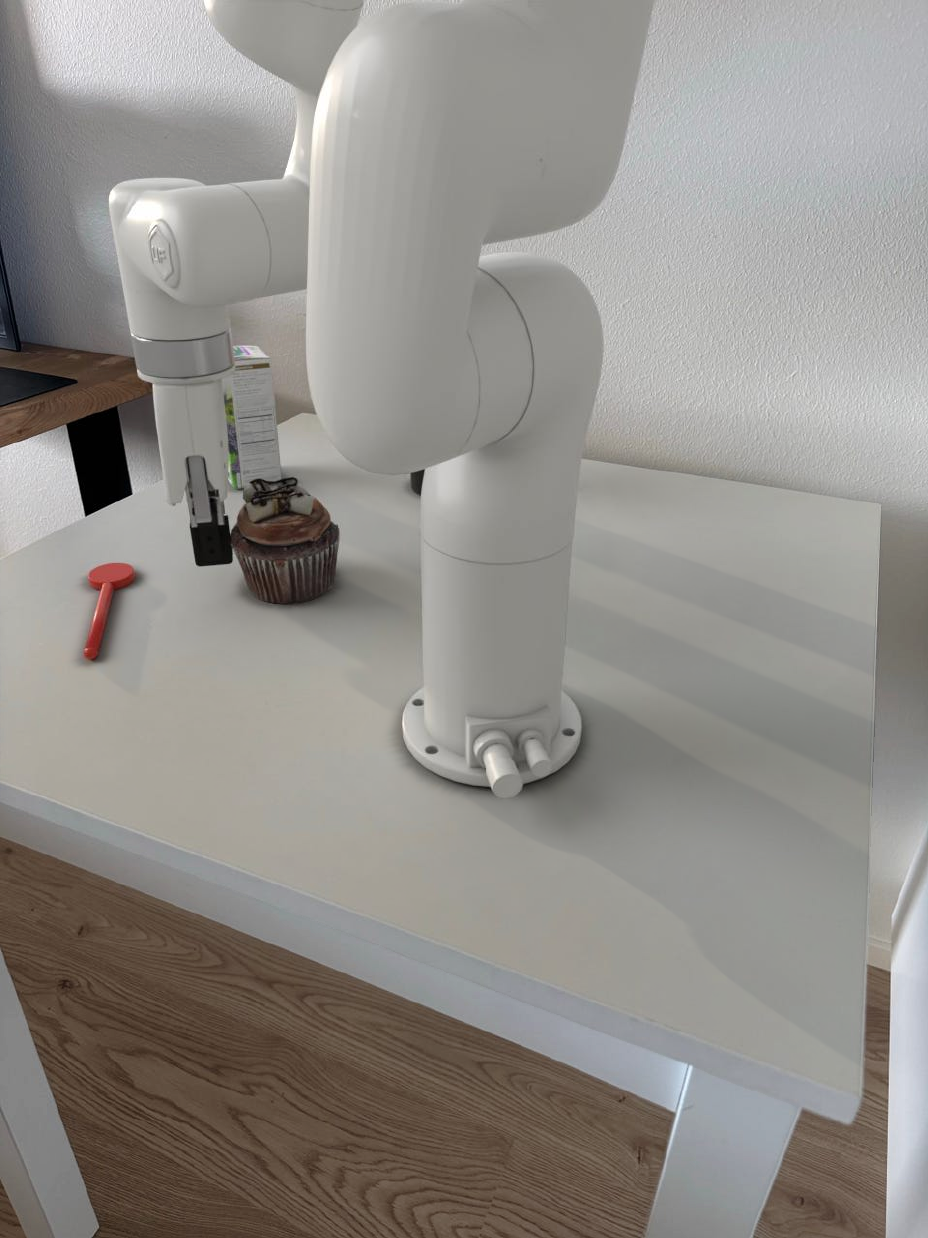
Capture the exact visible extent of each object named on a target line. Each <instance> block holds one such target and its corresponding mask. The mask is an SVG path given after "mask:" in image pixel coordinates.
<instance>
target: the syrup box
mask: <svg viewBox="0 0 928 1238" xmlns="http://www.w3.org/2000/svg"><path fill="white" fill-rule="evenodd" d="M233 350H234V359H235V367H236V370H235V372H234V373H233V374H231V375H230V376H228V377H226V378H223V379H222V387H223V395H224V404H225V413H226V422H227V434H228V452H229V471H228V483H229V484H230V485H231V486H232V488H233V489H234V490H238V489H244V488H245V487H247V486H249V485H252V484H250V483H249V482H251V481H253V480H255V479H258V478H260V479H263V480H266V481H278V480H280V479H283V477H282V465H281V454H280V443H279V432H278V422H277V409H276V398H275V397H276V396H275V387H274V377H273V367H272V358H271V356H270V355H268V354H267V353H266V352H265V350H263V349H262V348H261V347H260V346H258V345H233Z"/></svg>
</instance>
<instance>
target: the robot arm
mask: <svg viewBox="0 0 928 1238" xmlns="http://www.w3.org/2000/svg"><path fill="white" fill-rule="evenodd" d="M203 2H204V10H205V13H206V15H207V17H208V19H209V21H210V23H211V25H212V26H213V28H214V29H215V30H216V32H218V34H219V35H220V36H221V37H222V38H223V39H224V40H225V42H226V43H228V44H229V46H231V47H232V48H233V49H234V50H235V51H237V52H238V53H239V54H241V55H242V56H243V57H245V58H246V59H248V60H249V61H251V62H253V64H256V65H257V66H258V67H260V68H262V69H263V70H264V71H266V72H269V73H270V74H272V75H274V76H275V77H277V78H279V79H281V80H283V81H285V82H286V83H288V84H290V85H291V87H292V91H293V94H294V98H295V106H296V123H295V124H296V125H295V132H294V137H293V142H292V145H291V146H292V147H291V150H290V153H289V158H288V161H287V165H286V168H285V171H284V173H283V176H282V178H277V179H262V180H254V181H242V182H229V183H224V184H223V183H222V184H213V185H206V184H205V183H203V182H201V181H198V180H195V179H189V178H183V177H181V178H180V177H146V178H135V179H134V178H133V179H129V180H125V181H121V182H118V183H117V184H116V185H115V186H113V188H112V189H111V190H110V193H109V196H108V211H109V216H110V217H109V218H110V223H111V228H112V235H113V241H114V245H115V251H116V257H117V262H118V269H119V274H120V280H121V287H122V292H123V297H124V304H125V308H126V314H127V315H126V316H127V320H128V327H129V332H130V338H131V344H132V349H133V355H134V362H135V367H136V372H137V377H138V378H139V379H140V380H141V381H144V382H147V383H149V384H152V399H153V400H152V401H153V410H154V411H153V412H154V419H155V427H156V434H157V441H158V443H157V444H158V449H159V455H160V464H161V471H162V478H163V486H164V494H165V502H167V504H168V505H170V506H171V507H176V504H182V501H183V498H184V496H186V497H185V498H186V503H187V508H188V514H189V531H190V537H191V545H192V550H193V551H192V552H193V557H194V562H195V566H197V567H212V566H223V565H230V564H232V563H233V562H234V556H233V555H234V551H233V549H232V546H231V528H230V521H229V515H228V514H226V508H225V507H226V506H225V500H227V498H228V494H229V493H228V491H229V480H228V471H229V452H228V434H227V422H226V413H225V404H224V395H223V387H222V379H223V378H226V377H228V376H230V375H231V374H233V373H234V372H235V370H236V367H235V359H234V350H233V346H234V344H233V343H234V341H233V333H232V327H231V326H232V325H231V317H230V309H229V305H235V304H239V303H244V302H249V301H253V300H256V299H261V298H267V297H272V296H278V295H283V294H288V293H289V294H290V293H294V292H301V291H304V290H306V307H305V309H306V310H305V311H306V312H305V314H306V315H305V358H306V359H305V360H306V361H305V362H306V372H307V380H308V381H307V382H308V386H309V387H308V388H309V393H310V397H311V401H312V405H313V408H314V412H315V414H316V416H317V419H318V421H319V423H320V425H321V427H322V430H323V432H324V434H325V435H326V437H327V438H328V440H329V442H330V443H331V445H332V446H333V447H334V448H335V450H337V451H338V453H339V454H340V455H342V457H344V458H345V459H346V460H347V461H348V462H349V463H351V464H353V465H355V466H356V467H358V468H360V469H362V470H365V471H366V472H370V473H374V474H378V475H379V474H380V475H385V476H396V475H397V476H398V475H408V474H410V473H412V472H416V471H420V470H423V469H425V472H424V478H423V484H422V491H421V495H420V503H419V504H420V508H419V509H420V510H419V522H420V525H419V526H420V528H419V535H420V536H419V539H420V541H419V542H420V575H421V576H420V581H421V582H420V584H421V585H420V587H421V625H422V626H421V629H422V630H421V631H422V672H423V673H422V675H423V686H422V687H421V688H419V689H418V690H417V691H416V692H415V693H413V695H412V696H411V697H410V699H409V700H408V701H407V702H406V705H405V708H404V710H403V712H402V722H401V726H402V735H403V736H402V738H403V742H404V743H405V746H406V748H407V750H408V751H409V752H410V754H411V755H412V756H413V758H414V759H415V760H416V761H417V762H419V764H421V765H422V766H423V767H424V768H425V769H427V770H429V771H430V772H432V773H434V774H436V775H438V776H440V777H443V778H445V779H447V780H450V781H453V782H456V783H460V784H465V785H469V786H475V787H489V788H491V791H492V793H493V795H494V796H495V797H496V798H499V799H500V800H501V799H502V800H506V799H507V800H508V799H509V800H510V799H512V798H513V797H516V796H517V795H519V794H520V792H522V789H523V787H524V785H525V784H528V783H531V782H534V781H538V780H541V779H544V778H545V777H547V776H549V775H552V774H553V773H556V772H558V770H560V769H562V768H563V767H564V766H565V765H566V764H568V763H569V762H570V760H571V759H572V758H573V757H574V755H575V754H576V752H577V750H578V748H579V746H580V743H581V737H582V730H583V729H582V725H583V724H582V717H581V713H580V711H579V708H578V706H577V705H576V704H575V702H574V700H573V699H572V698H571V697H570V696H569V695H568V694H567V693H566V692H565V691H563V675H564V661H565V650H566V649H565V648H566V635H567V622H568V621H567V620H568V609H569V608H568V607H569V593H570V580H571V565H572V555H573V554H572V553H573V552H572V551H573V539H574V536H575V525H576V524H575V523H576V511H577V500H578V491H579V490H578V489H579V481H580V473H581V472H580V471H581V464H582V458H583V453H584V448H585V443H586V438H587V433H588V429H589V426H590V422H591V418H592V414H593V410H594V407H595V403H596V400H597V399H596V398H597V395H598V390H599V386H600V381H601V376H602V369H603V362H604V343H605V342H604V330H603V323H602V319H601V314H600V311H599V309H598V307H597V306H598V305H597V304H596V301H595V299H594V297H593V295H592V293H591V291H590V290H589V288H588V286H587V285H586V284H585V283H584V281H583V279H581V278H580V277H579V276H578V275H577V274H576V273H575V272H574V271H573V270H571V269H570V268H569V267H568V266H566V264H563V263H562V262H560V261H558V260H557V259H554V258H551V257H549V256H546V255H543V254H538V253H533V252H527V251H525V252H524V251H507V252H495V253H490V254H485V255H481V252H482V249H483V248H482V247H483V246H485V245H491V244H496V243H502V242H507V241H514V240H519V239H525V238H530V237H531V238H532V237H534V236H539V235H545V234H548V233H551V232H555V231H559V230H562V229H565V228H567V227H570V226H574V225H575V224H577V223H580V222H581V221H582V220H584V219H585V218H587V217H589V216H590V215H592V213H593V212H594V211H595V210H596V209H597V208H599V206H601V204H602V202H604V200H605V198H606V197H607V194H608V193H609V191H610V189H611V187H612V185H613V183H614V180H615V177H616V175H617V172H618V169H619V166H620V162H621V158H622V154H623V149H624V147H625V142H626V137H627V133H628V129H629V128H628V127H629V123H630V118H631V115H632V114H631V113H632V108H633V104H634V99H635V95H636V89H637V85H638V80H639V76H640V71H641V67H642V62H643V58H644V52H645V48H646V47H645V46H646V43H647V38H648V34H649V29H650V24H651V19H652V15H653V10H654V6H655V0H460V1H459V2H456V1H444V0H411V1H410V0H409V1H405V2H400V3H394V4H391V5H388V6H386V7H384V8H382V9H378V10H377V11H375V12H374V13H372V14H370V15H369V16H367V17H366V18H364V19H363V20H362V21H361V22H359V21H360V17H361V14H362V11H363V7H364V4H365V0H203ZM184 494H185V495H184ZM225 514H226V515H225Z"/></svg>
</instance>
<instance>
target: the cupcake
mask: <svg viewBox="0 0 928 1238" xmlns="http://www.w3.org/2000/svg"><path fill="white" fill-rule="evenodd" d="M298 482H299V480H298V478H296V477H294V476H291V477H284V478H282V479H280V480H278V481H266V480H263V479H260V478H258V479H255V480H253V481H251V482H249V483H250V484H252V485H249V486H247V487H245V488H243V490H242V500H243V501H244V504H243V505H242V506H241V508H240V509H239V511H238V514H237V516H236V522H235V524H234V525H233V527H232V528H231V529H230V535H231V546H232V550H233V554H234V555H235V557H236V559H237V561H238V564H239V566H240V569H241V571H242V574H243V577H244V580H245V583H246V586H247V589H248V590H249V591H250V593H251V595H252V596H254V597H255V598H257V599H258V600H260V601H263V602H266V603H271V604H279V605H280V604H281V605H290V604H295V603H304V602H309V601H312V600H314V599H317V598H320V597H321V596H324V595H325V594H326V593H328V591H330V590H331V588H332V587H333V584H334V581H335V577H336V570H337V569H336V568H337V562H338V554H339V547H340V546H339V545H340V537H341V536H340V535H341V533H340V532H341V531H340V528H339V525H338V524H336V523H335V522H333V521H332V519H331V514H330V513H329V511H328V509H327V508H326V507H325V505H323V504H322V502H320V501H319V500H318V498H317V497H315V496H313V495H312V494H310V493H309V491H308V490H307V489H306V488H305V487H303V486H302V485H300V484H299V483H298ZM270 485H277V486H276V487H277V488H274V489H272V488H271V486H270Z"/></svg>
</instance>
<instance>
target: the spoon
mask: <svg viewBox="0 0 928 1238" xmlns="http://www.w3.org/2000/svg"><path fill="white" fill-rule="evenodd" d="M135 578H136V574H135V569H134V567H133V566H132V565H131V564H128V563H126V562H109V563H104V564H101V565H98V566H96V567H94V568H92V569H91V570H89V572H88V573H87V580H88V583H89V586H90V587H91V588H92V589H95V590H99V591H100V593H99V596H98V600H97V604H96V607H95V610H94V614H93V618H92V621H91V624H90V629H89V632H88V636H87V640H86V643H85V647H84V650H83V656H84V658H86V659H87V660H95V658H97V657H98V653H99V649H100V645H101V642H102V638H103V634H104V629H105V625H106V621H107V618H108V614H109V610H110V605H111V602H112V598H113V595H114V590H117V589H123V588H124V587H127V586H128V585H130V584H131V583H133V582H134V580H135Z"/></svg>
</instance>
